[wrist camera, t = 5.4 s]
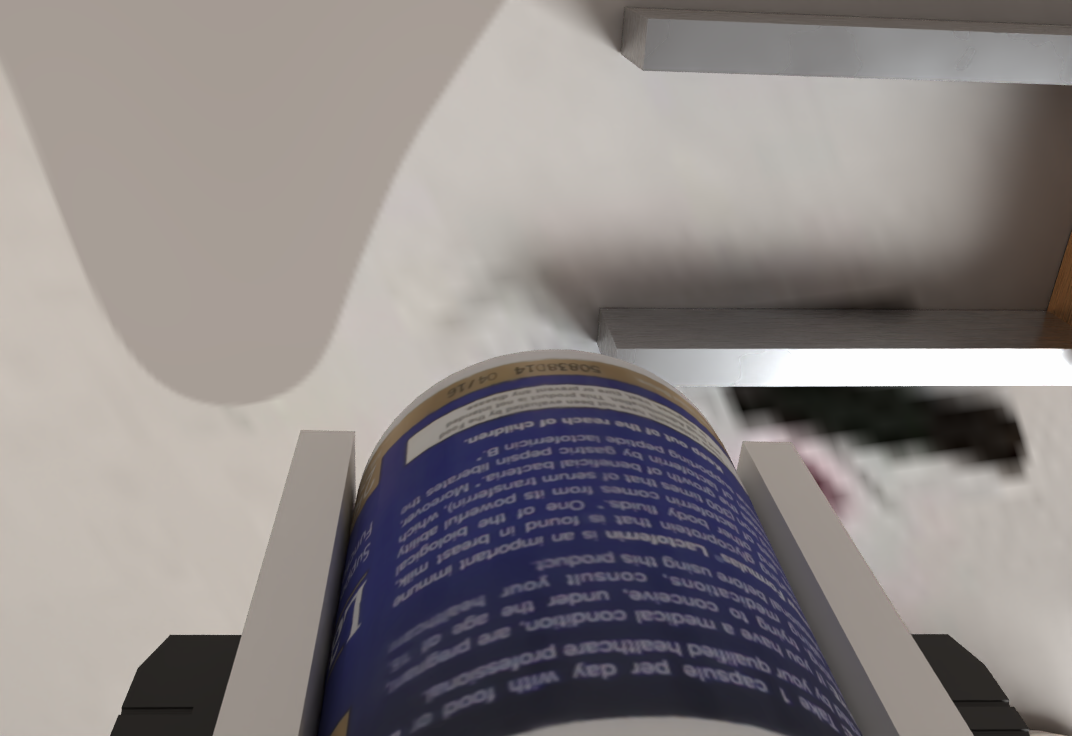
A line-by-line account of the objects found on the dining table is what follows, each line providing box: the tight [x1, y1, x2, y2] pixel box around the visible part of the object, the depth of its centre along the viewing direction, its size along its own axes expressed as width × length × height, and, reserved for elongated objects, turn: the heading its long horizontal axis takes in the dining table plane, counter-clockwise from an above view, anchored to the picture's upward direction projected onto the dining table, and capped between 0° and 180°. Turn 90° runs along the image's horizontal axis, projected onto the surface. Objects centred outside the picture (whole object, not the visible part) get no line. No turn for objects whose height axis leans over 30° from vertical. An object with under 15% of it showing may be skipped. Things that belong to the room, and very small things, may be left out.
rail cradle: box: [597, 7, 1072, 387], centre depth 26 cm, size 16×10×5 cm, turn 87°
